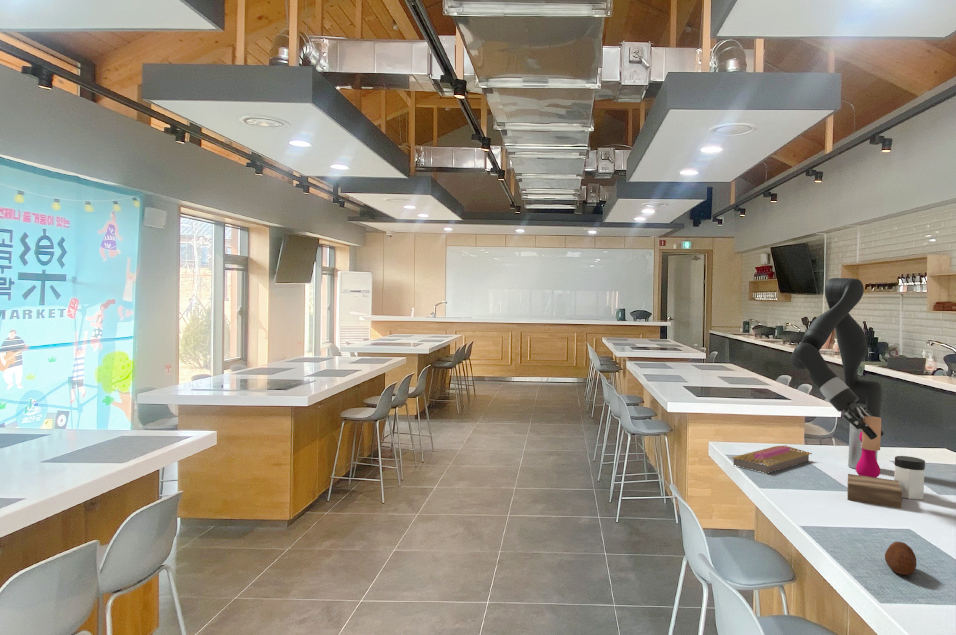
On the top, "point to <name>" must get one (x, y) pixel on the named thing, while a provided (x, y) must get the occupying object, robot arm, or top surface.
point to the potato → (901, 558)
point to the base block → (874, 490)
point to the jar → (910, 476)
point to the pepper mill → (867, 463)
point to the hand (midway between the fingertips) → (877, 436)
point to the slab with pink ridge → (775, 453)
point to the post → (876, 427)
